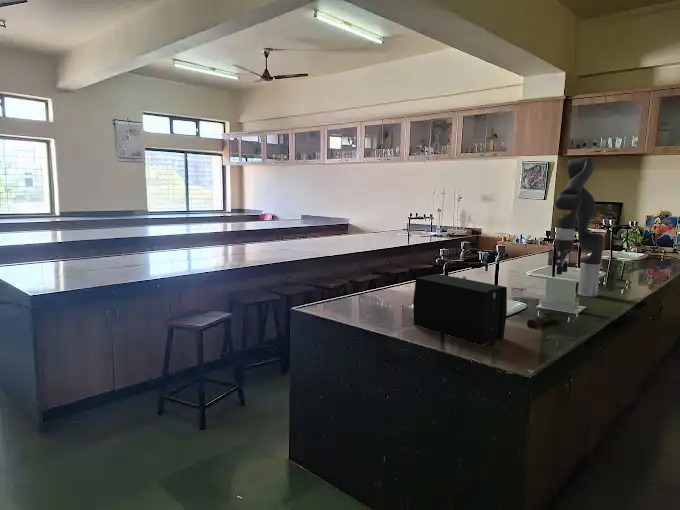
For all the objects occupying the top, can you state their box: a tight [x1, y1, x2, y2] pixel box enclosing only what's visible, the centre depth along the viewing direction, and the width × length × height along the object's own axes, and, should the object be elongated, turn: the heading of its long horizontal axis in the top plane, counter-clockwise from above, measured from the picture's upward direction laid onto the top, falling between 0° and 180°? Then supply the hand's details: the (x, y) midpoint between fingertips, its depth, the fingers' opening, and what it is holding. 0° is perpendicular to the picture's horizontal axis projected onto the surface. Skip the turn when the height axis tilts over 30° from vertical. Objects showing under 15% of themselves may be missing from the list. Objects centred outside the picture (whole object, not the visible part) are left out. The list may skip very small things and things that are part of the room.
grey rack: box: [535, 300, 587, 315], centre depth 221 cm, size 16×18×4 cm
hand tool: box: [526, 310, 553, 329], centre depth 196 cm, size 19×4×5 cm, turn 130°
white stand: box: [522, 288, 546, 301], centre depth 239 cm, size 7×14×4 cm, turn 49°
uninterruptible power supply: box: [412, 273, 508, 346], centre depth 184 cm, size 16×34×20 cm, turn 40°
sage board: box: [545, 275, 577, 305], centre depth 218 cm, size 3×12×14 cm, turn 49°
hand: (561, 273), depth 217 cm, fingers open, 8 cm apart
